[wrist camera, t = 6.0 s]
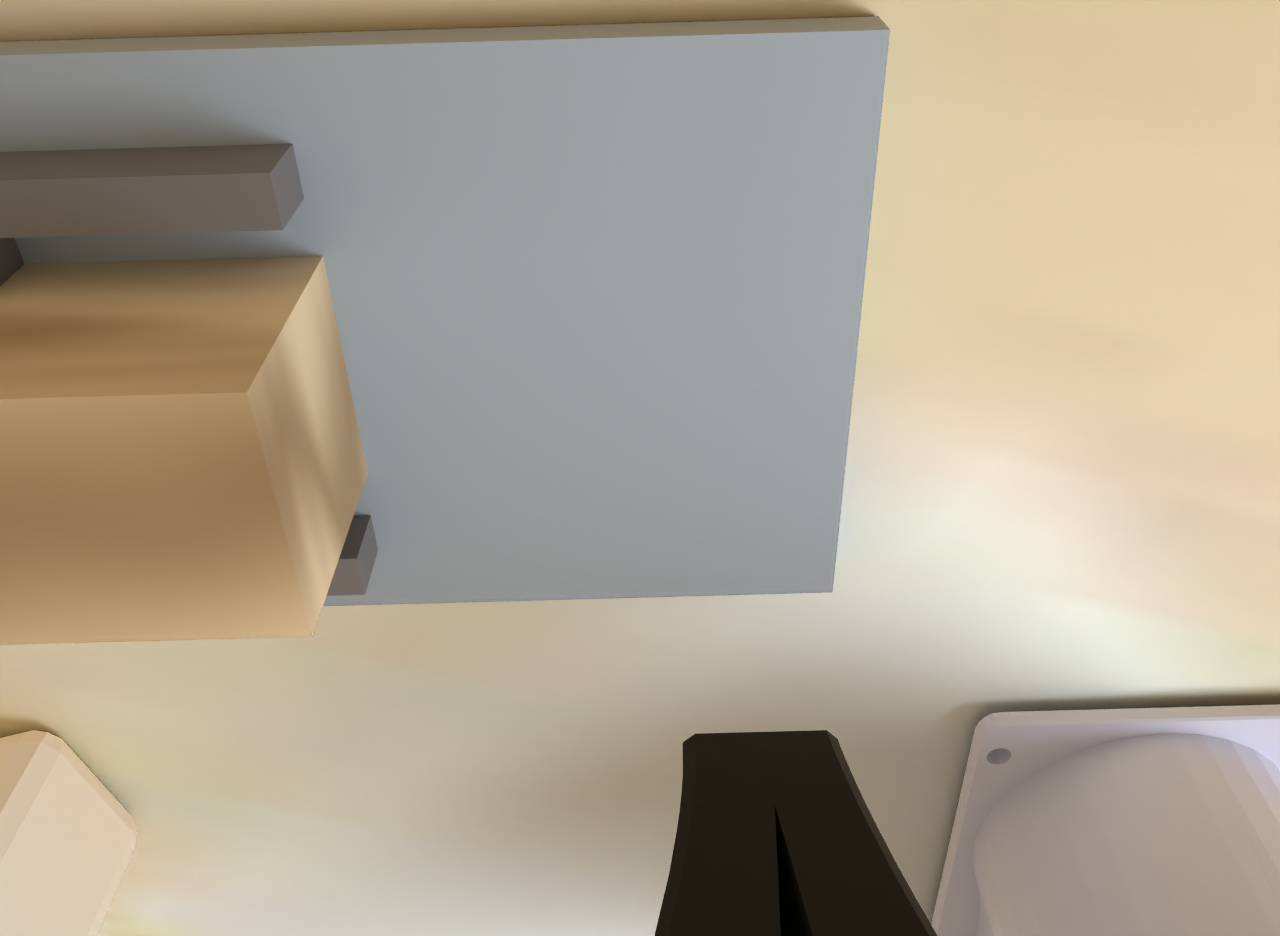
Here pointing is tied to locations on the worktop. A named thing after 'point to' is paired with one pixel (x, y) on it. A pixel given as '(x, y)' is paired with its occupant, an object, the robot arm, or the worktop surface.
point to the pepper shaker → (57, 840)
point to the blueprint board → (514, 273)
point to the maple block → (172, 450)
